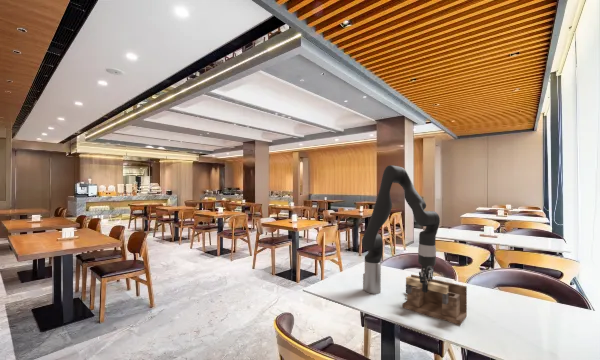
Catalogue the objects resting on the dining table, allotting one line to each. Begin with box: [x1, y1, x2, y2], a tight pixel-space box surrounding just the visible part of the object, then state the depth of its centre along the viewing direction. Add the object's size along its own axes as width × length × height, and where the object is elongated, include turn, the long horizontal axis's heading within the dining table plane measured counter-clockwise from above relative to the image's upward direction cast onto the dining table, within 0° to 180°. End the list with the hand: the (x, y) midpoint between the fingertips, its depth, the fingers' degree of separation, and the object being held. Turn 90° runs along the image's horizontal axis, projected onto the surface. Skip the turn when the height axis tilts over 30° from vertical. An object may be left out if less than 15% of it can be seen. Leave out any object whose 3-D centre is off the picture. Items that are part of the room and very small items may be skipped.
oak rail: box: [405, 275, 449, 304], centre depth 131 cm, size 18×3×8 cm, turn 48°
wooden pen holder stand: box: [402, 274, 468, 326], centre depth 138 cm, size 26×12×14 cm, turn 48°
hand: (426, 290), depth 131 cm, fingers closed on oak rail, 3 cm apart
